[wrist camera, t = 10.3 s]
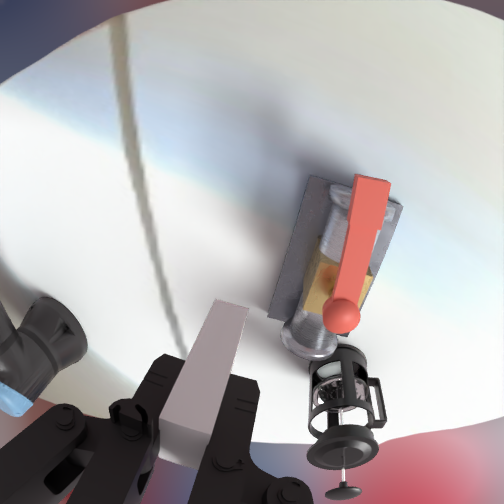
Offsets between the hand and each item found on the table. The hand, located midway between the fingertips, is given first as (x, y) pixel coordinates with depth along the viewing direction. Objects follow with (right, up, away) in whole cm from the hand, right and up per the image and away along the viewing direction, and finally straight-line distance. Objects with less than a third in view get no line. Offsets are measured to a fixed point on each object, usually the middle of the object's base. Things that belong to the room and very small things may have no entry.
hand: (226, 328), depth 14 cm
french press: (+15, -15, +32) cm, 39 cm away
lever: (+10, +3, +13) cm, 17 cm away
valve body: (+11, +2, +26) cm, 28 cm away
